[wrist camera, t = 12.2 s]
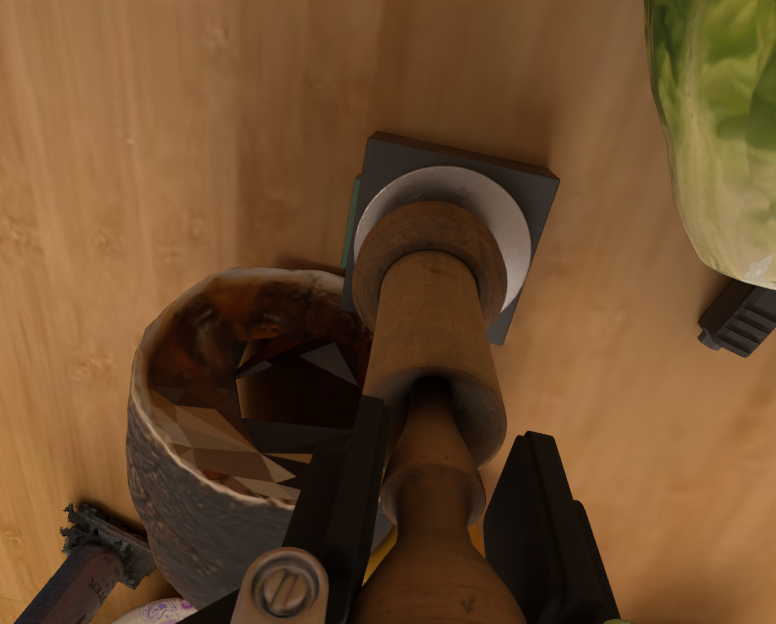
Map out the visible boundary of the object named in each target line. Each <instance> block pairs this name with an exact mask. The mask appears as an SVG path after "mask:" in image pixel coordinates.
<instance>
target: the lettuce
mask: <svg viewBox="0 0 776 624" xmlns="http://www.w3.org/2000/svg"><path fill="white" fill-rule="evenodd" d="M644 7H645V38H646V46H647V55H648V64H649V72H650V81H651V90H652V94H653V97H654V101H655V104H656V107H657V111H658V114H659V117H660V121H661V124H662V128H663V131H664V134H665V138H666V142H667V150H668V158H669V165H670V173H671V180H672V188H673V196H674V201H675V204H676V207H677V210H678V212H679V215H680V218H681V221H682V223H683V226H684V229H685V231H686V233H687V235H688V237H689V239H690V241H691V243H692V245H693V246H694V248H695V250H696V252H697V254H698V256H699V258H700V259H701V260H702V261H703V262H704V263H705V265H707V266H709V267H711V268H712V269H714V270H716V271H718V272H720V273H722V274H724V275H727V276H730V277H732V278H735V279H737V280H740V281H743V282H746V283H750V284H754V285H758V286H761V287H765V288H769V289H775V290H776V0H644Z"/></svg>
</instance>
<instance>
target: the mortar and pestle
mask: <svg viewBox="0 0 776 624" xmlns="http://www.w3.org/2000/svg"><path fill="white" fill-rule="evenodd" d="M507 286H508V278H507V270H506V265H505V262H504V259H503V256H502V254H501V251H500V248H499V245H498V243H497V241H496V239H495V237H494V235H493V234H492V232H491V231H490V230H489V228H488V227H487V226H486V225H485V224H484V223H483V222H482V221H481V220H480V219H479V218H478V217H477V216H475V215H474V214H472V213H471V212H469V211H467V210H466V209H463V208H461V207H459V206H457V205H454V204H450V203H446V202H439V201H423V202H416V203H412V204H409V205H406V206H403V207H400V208H398V209H396V210H394V211H392V212H390V213H389V214H387V215H386V216H385V217H383V218H382V219H381V220H380V221H379V222H377V223H376V224H375V225H374V227H373V228H372V229H371V230H370V231H369V233H368V234H367V236H366V237H365V239H364V241H363V243H362V245H361V247H360V250H359V253H358V256H357V260H356V264H355V267H354V272H353V278H352V294H353V300H354V303H355V307H356V309H357V312H358V314H359V316H360V317H361V319H362V321H363V322H364V323H365V325H366V326H367V327H368V328H369V329H370V331H371V332H372V333H373V334H374V337H373V342H372V348H371V354H370V359H369V364H368V370H367V375H366V379H365V384H364V389H363V395H367V396H372V397H377V398H381V399H384V406H388V407H392V412H391V419H390V426H389V433H388V440H387V446H386V453H385V460H384V467H383V468H384V469H385V473H384V477H383V480H382V484H381V489H380V503H381V506H382V509H383V511H384V513H385V514H386V516H387V517H388V518H389V519H390V520H391V521H392V522H393V523H394V524H395V525H397V540H396V543H395V545H394V546H393V547H392V548H391V550H390V551H389V552H388V553H387V555H386V556H385V557H384V558H383V560H382V561H381V562H380V564H379V565H378V566H377V568H376V569H375V570H374V572H373V573H372V574H371V575H370V577H369V578H368V579H367V581H366V582H365V584H364V585H363V586H362V588H361V591H360V594H359V595H358V596H357V598H356V599H355V600H354V602H353V604H352V606H351V609H350V611H349V614H348V616H347V619H346V623H345V624H527V621H526V619H525V616H524V614H523V612H522V610H521V608H520V606H519V605H518V603H517V601H516V599H515V598H514V596H513V595H512V593H511V592H510V590H509V589H508V587H507V586H506V585H505V583H504V582H503V581H502V579H501V578H500V577H499V576H498V574H497V573H496V572H495V571H494V569H493V568H492V567H491V565H490V564H489V563H488V562H487V560H486V559H485V558H484V557H483V556H482V555H481V553H480V552H479V551H478V550H477V549H476V548H475V547H474V546H473V544H472V541H471V538H470V535H469V532H468V529H467V528H469V527H470V526H472V525H473V524H474V523H475V522H476V521H477V520H478V519H479V518H480V516H481V515H482V513H483V511H484V508H485V505H486V494H485V489H484V486H483V483H482V480H481V477H480V474H479V470H480V469H482V468H483V467H484V466H486V465H487V464H488V463H489V462H490V461H491V460H492V459H493V458H494V457H495V455H496V454H497V453H498V451H499V450H500V448H501V446H502V444H503V442H504V439H505V435H506V430H507V418H506V412H505V407H504V403H503V399H502V395H501V391H500V387H499V383H498V379H497V375H496V371H495V367H494V363H493V359H492V354H491V350H490V346H489V342H488V338H487V333H486V331H487V330H488V329H489V328H490V327H491V325H492V324H493V323H494V322H495V320H496V319H497V317H498V316H499V314H500V312H501V310H502V307H503V305H504V302H505V298H506V294H507Z"/></svg>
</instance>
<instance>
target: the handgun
mask: <svg viewBox="0 0 776 624" xmlns="http://www.w3.org/2000/svg"><path fill="white" fill-rule="evenodd" d="M698 324H699V325H700V326H701V328H702V329H703V331H702V333H701V334H700V335H699V336H698V337H697V338H698V339H699V341H700V342H701V343H703V344H704V345H706V346H707V347H709V348H710V349H713V350H717V351H719V349H720V348H721V347H723V348H725V349H727V350H729V351H731V352H733V353H735V354H737V355H739V356H741V357H744V358H746V357H748V356H750V355H751V353H752V352H753V351H754V350H755V349H756V348H757V347H758V346H759V345H760V344H761V343H762V342H763V341H764V339H765V338H766V337H767V336H768V335H769V334H770V333H771V332H772V331H773V330H774V329H775V328H776V290H775V289H769V288H765V287H761V286H758V285H754V284H750V283H746V282H743V281H740V280H737V279H735V278H734V279H733V280H732V281H731V283H730V284H729V285H728V286H727V287H726V289H725V290H724V291H723V292H722V293H721V295H720V296H719V297H718V298H717V299H716V301H715V302H714V303H713V304H712V305H711V307H710V308H709V309H708V310H707V311H706V313H705V314H704V315H703V316H702V317H701V319H700V320H699V321H698Z"/></svg>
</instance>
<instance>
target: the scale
mask: <svg viewBox="0 0 776 624" xmlns="http://www.w3.org/2000/svg"><path fill="white" fill-rule="evenodd" d="M559 183H560V179H559V178H558V177H557V176H556V175H555V174H553V173H552V172H551V171H550V170H549V169H548V168H544V167H539V166H535V165H530V164H525V163H521V162H516V161H512V160H507V159H502V158H498V157H493V156H489V155H484V154H480V153H475V152H470V151H466V150H461V149H457V148H452V147H447V146H443V145H438V144H434V143H429V142H424V141H420V140H415V139H411V138H406V137H401V136H397V135H392V134H388V133H383V132H378V131H375V132H374V133H373V134H372V135H371V136H370V137H369V138H368V140H367V146H366V152H365V158H364V164H363V170H362V174H358V176H357V177H356V178H355V181H354V187H353V193H352V199H351V206H350V212H349V218H348V224H347V231H346V237H345V243H344V249H343V256H342V262H341V268H344V269H346V272H345V278H344V284H343V290H342V296H341V302H340V310H342V311H347V312H351V313H356V314H358V312H357V309H356V307H355V303H354V300H353V294H352V278H353V272H354V267H355V264H356V260H357V256H358V253H359V250H360V247H361V245H362V243H363V241H364V239H365V237H366V236H367V234H368V233H369V231H370V230H371V229H372V228H373V227H374V225H375V224H376V223H377V222H379V221H380V220H381V219H382V218H383V217H385V216H386V215H387V214H389V213H390V212H392V211H394V210H396V209H398V208H400V207H403V206H406V205H409V204H412V203H416V202H423V201H439V202H446V203H450V204H454V205H457V206H459V207H461V208H463V209H466V210H467V211H469V212H471V213H472V214H474V215H475V216H477V217H478V218H479V219H480V220H481V221H482V222H483V223H484V224H485V225H486V226H487V227H488V228H489V230H490V231H491V232H492V234H493V235H494V237H495V239H496V241H497V243H498V245H499V248H500V251H501V254H502V256H503V259H504V262H505V265H506V270H507V278H508V286H507V294H506V298H505V302H504V305H503V307H502V310H501V312H500V314H499V316H498V317H497V319H496V320H495V322H494V323H493V324H492V325H491V327H490V328H489V329H488V330H487V331H486V333H487V338H488V342H489V343H493V344H497V345H503V343H504V340H505V337H506V334H507V331H508V329H509V326H510V323H511V320H512V317H513V314H514V311H515V309H516V306H517V303H518V300H519V297H520V294H521V291H522V289H523V286H524V283H525V280H526V277H527V274H528V271H529V269H530V266H531V263H532V260H533V257H534V254H535V251H536V249H537V246H538V243H539V240H540V237H541V234H542V231H543V229H544V226H545V223H546V220H547V217H548V214H549V211H550V208H551V206H552V203H553V200H554V197H555V194H556V191H557V188H558V186H559Z"/></svg>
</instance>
